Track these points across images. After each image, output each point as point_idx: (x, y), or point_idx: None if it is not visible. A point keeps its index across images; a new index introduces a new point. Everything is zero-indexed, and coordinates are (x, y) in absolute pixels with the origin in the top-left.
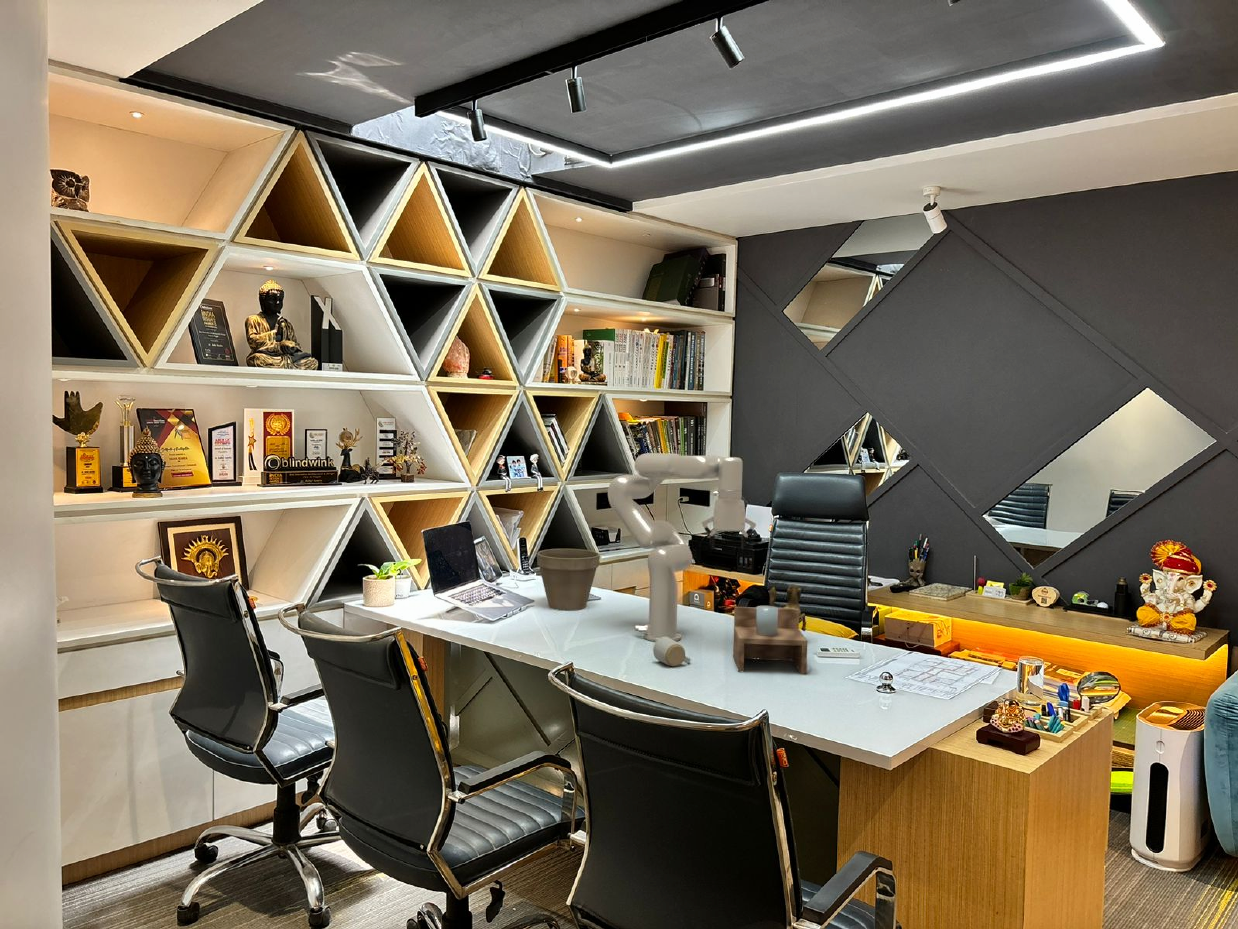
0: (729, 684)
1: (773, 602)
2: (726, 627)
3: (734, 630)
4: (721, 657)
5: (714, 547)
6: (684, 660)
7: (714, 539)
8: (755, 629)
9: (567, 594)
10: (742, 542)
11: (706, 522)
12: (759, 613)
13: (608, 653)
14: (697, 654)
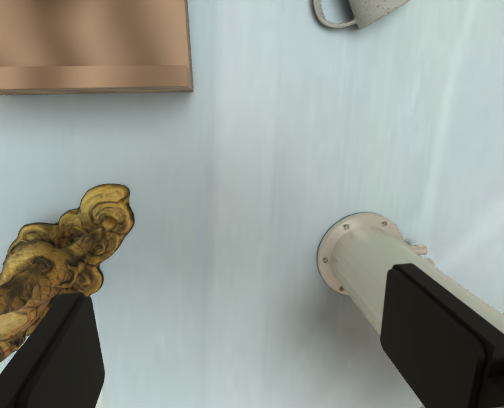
0: None
1: (26, 268)
2: (203, 391)
3: (189, 66)
4: (224, 85)
5: (393, 269)
6: None
7: (455, 321)
8: (110, 33)
9: None
10: (61, 354)
11: None
12: None
13: (496, 80)
14: (285, 108)
